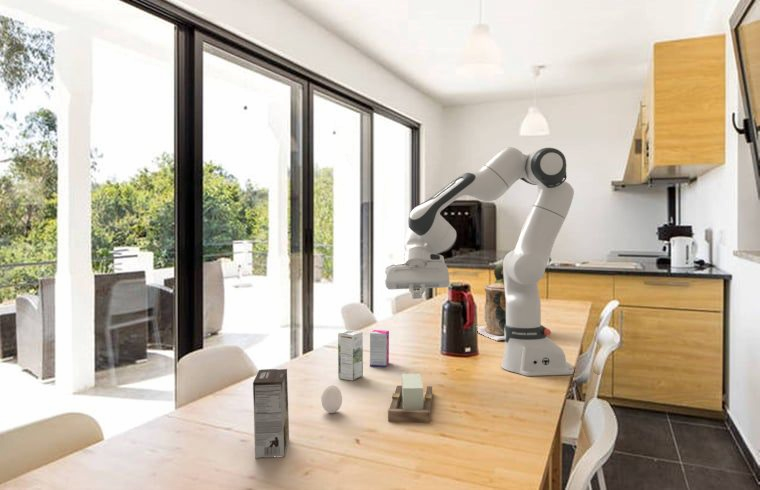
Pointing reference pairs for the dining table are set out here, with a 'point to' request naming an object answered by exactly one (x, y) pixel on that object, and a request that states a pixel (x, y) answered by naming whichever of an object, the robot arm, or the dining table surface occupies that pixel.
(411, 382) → the block
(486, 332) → the cookie jar
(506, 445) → the dining table surface
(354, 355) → the syrup box
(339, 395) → the egg
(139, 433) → the dining table surface
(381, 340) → the supplement box
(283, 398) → the coffee box
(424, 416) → the slot track
